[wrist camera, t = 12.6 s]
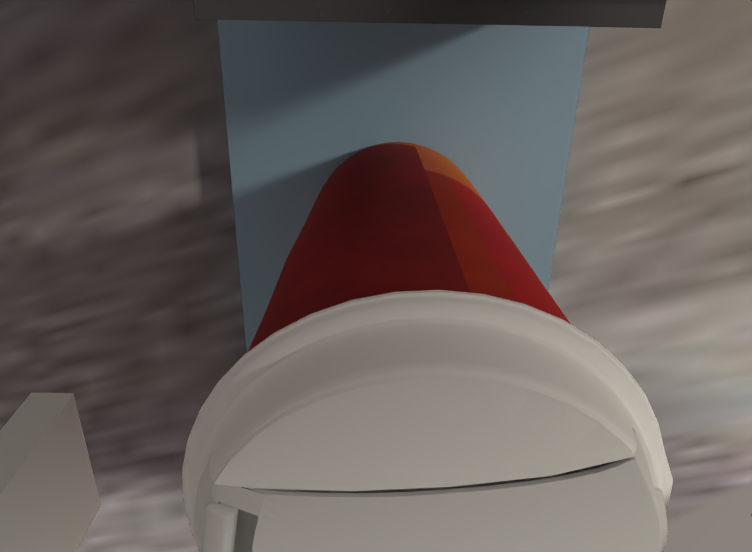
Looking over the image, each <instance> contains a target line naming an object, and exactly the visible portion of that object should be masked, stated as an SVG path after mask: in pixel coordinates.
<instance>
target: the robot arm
mask: <svg viewBox="0 0 752 552" xmlns="http://www.w3.org/2000/svg"><path fill="white" fill-rule="evenodd" d="M100 505H101V503H100V499H99V495H98V491H97V487H96V483H95V479H94V475H93V471H92V466H91V462H90V458H89V454H88V450H87V446H86V442H85V438H84V434H83V430H82V426H81V422H80V418H79V414H78V409H77V405H76V401H75V397H74V393H30V395H29V396H28V397H27V398H26V400H25V401H24V402H23V403H22V404H21V406H20V407H19V408H18V409H17V411H16V412H15V413H14V414H13V415H12V417H11V418H10V419H9V420H8V422H7V423H6V424H5V425H4V426H3V428H2V429H1V430H0V552H76V551H77V549H78V547H79V545H80V543H81V541H82V540H83V538H84V536H85V534H86V532H87V530H88V528H89V526H90V524H91V522H92V520H93V518H94V516H95V515H96V513H97V511H98V509H99V507H100ZM751 516H752V514H751Z"/></svg>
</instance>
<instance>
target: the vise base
mask: <svg viewBox="0 0 752 552" xmlns="http://www.w3.org/2000/svg"><path fill="white" fill-rule="evenodd" d="M217 22H218V34H219V45H220V56H221V68H222V79H223V91H224V102H225V113H226V125H227V136H228V148H229V159H230V170H231V182H232V193H233V205H234V216H235V227H236V239H237V250H238V262H239V273H240V284H241V296H242V307H243V319H244V330H245V341H246V353H247V352H248V350H249V348H250V345H251V343H252V341H253V339H254V336H255V334H256V332H257V330H258V327H259V325H260V323H261V321H262V318H263V316H264V314H265V312H266V309H267V307H268V304H269V302H270V299H271V297H272V294H273V292H274V289H275V287H276V284H277V282H278V279H279V277H280V274H281V272H282V269H283V267H284V264H285V262H286V259H287V257H288V255H289V253H290V251H291V249H292V247H293V245H294V244H295V242H296V240H297V238H298V236H299V234H300V232H301V230H302V228H303V226H304V224H305V222H306V220H307V218H308V216H309V214H310V211H311V209H312V207H313V205H314V203H315V201H316V199H317V197H318V195H319V193H320V191H321V189H322V188H323V186H324V184H325V183H326V181H327V180H328V178H329V177H330V175H331V174H332V173H333V172H334V170H335V169H336V168H337V167H338V166H339V165H340V164H341V163H343V162H344V161H345V160H346V159H348V158H349V157H350V156H352V155H354V154H355V153H357V152H359V151H361V150H363V149H365V148H368V147H371V146H374V145H377V144H382V143H389V142H407V143H414V144H418V145H422V146H425V147H427V148H430V149H432V150H434V151H436V152H438V153H440V154H442V155H443V156H445V157H446V158H448V159H449V160H450V161H451V162H453V163H454V164H455V165H456V166H457V167H458V168H459V169H460V170H461V171H462V172H463V174H464V175H465V176H466V177H467V178H468V180H469V181H470V182H471V183H472V185H473V186H474V187H475V189H476V190H477V191H478V193H479V194H480V196H481V197H482V198H483V200H484V201H485V202H486V204H487V205H488V207H489V208H490V209H491V211H492V212H493V214H494V215H495V216H496V218H497V219H498V221H499V222H500V224H501V225H502V226H503V228H504V229H505V231H506V232H507V234H508V235H509V236H510V238H511V239H512V241H513V242H514V243H515V245H516V246H517V248H518V249H519V251H520V252H521V254H522V255H523V256H524V258H525V259H526V261H527V262H528V264H529V265H530V266H531V268H532V269H533V271H534V272H535V274H536V275H537V277H538V278H539V279H540V281H541V282H542V284H543V285H544V287H545V288H546V290H547V291H548V288H549V281H550V275H551V269H552V262H553V256H554V249H555V243H556V237H557V230H558V224H559V217H560V211H561V205H562V198H563V192H564V186H565V179H566V173H567V166H568V160H569V154H570V147H571V141H572V134H573V128H574V122H575V115H576V109H577V103H578V96H579V90H580V83H581V77H582V71H583V64H584V58H585V51H586V45H587V39H588V32H589V27H578V26H524V25H471V24H417V23H363V22H309V21H255V20H217Z"/></svg>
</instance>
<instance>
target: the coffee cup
mask: <svg viewBox="0 0 752 552" xmlns="http://www.w3.org/2000/svg"><path fill="white" fill-rule="evenodd" d="M182 484H183V501H184V505H185V509H186V512H187V516H188V520H189V524H190V527H191V531H192V535H193V537H194V539H195V541H196V543H197V546H198V550H199V552H664V549H665V546H666V541H667V518H666V510H667V507H668V503H669V498H670V493H671V488H672V484H673V479H672V475H671V472H670V468H669V465H668V461H667V458H666V454H665V450H664V446H663V442H662V437H661V433H660V428H659V424H658V421H657V419H656V416H655V414H654V412H653V410H652V408H651V406H650V404H649V402H648V399H647V397H646V395H645V393H644V392H643V390H642V389H641V387H640V386H639V385H638V383H637V382H636V381H635V380H634V378H633V377H632V376H631V374H630V373H629V372H628V370H627V369H626V368H625V366H624V365H623V364H622V363H621V362H620V361H619V360H618V359H617V358H616V357H614V356H613V355H612V354H611V353H610V352H609V351H608V350H607V349H606V348H604V347H603V346H602V345H601V344H600V343H599V342H598V341H597V340H595V339H594V338H592V337H590V336H589V335H587V334H586V333H584V332H582V331H581V330H579V329H578V328H576V327H574V326H573V325H571V324H570V323H569V321H568V320H567V318H566V317H565V315H564V314H563V313H562V311H561V310H560V308H559V307H558V305H557V304H556V302H555V301H554V300H553V298H552V297H551V295H550V294H549V292H548V291H547V290H546V288H545V287H544V285H543V284H542V282H541V281H540V279H539V278H538V277H537V275H536V274H535V272H534V271H533V269H532V268H531V266H530V265H529V264H528V262H527V261H526V259H525V258H524V256H523V255H522V254H521V252H520V251H519V249H518V248H517V246H516V245H515V243H514V242H513V241H512V239H511V238H510V236H509V235H508V234H507V232H506V231H505V229H504V228H503V226H502V225H501V224H500V222H499V221H498V219H497V218H496V216H495V215H494V214H493V212H492V211H491V209H490V208H489V207H488V205H487V204H486V202H485V201H484V200H483V198H482V197H481V196H480V194H479V193H478V191H477V190H476V189H475V187H474V186H473V185H472V183H471V182H470V181H469V180H468V178H467V177H466V176H465V175H464V174H463V172H462V171H461V170H460V169H459V168H458V167H457V166H456V165H455V164H454V163H453V162H451V161H450V160H449V159H448V158H446V157H445V156H443V155H442V154H440V153H438V152H436V151H434V150H432V149H430V148H427V147H425V146H422V145H418V144H414V143H407V142H389V143H382V144H377V145H374V146H371V147H368V148H365V149H363V150H361V151H359V152H357V153H355V154H354V155H352V156H350V157H349V158H348V159H346V160H345V161H344V162H343V163H341V164H340V165H339V166H338V167H337V168H336V169H335V170H334V172H333V173H332V174H331V175H330V177H329V178H328V180H327V181H326V183H325V184H324V186H323V188H322V189H321V191H320V193H319V195H318V197H317V199H316V201H315V203H314V205H313V207H312V209H311V211H310V214H309V216H308V218H307V220H306V222H305V224H304V226H303V228H302V230H301V232H300V234H299V236H298V238H297V240H296V242H295V244H294V245H293V247H292V249H291V251H290V253H289V255H288V257H287V259H286V262H285V264H284V267H283V269H282V272H281V274H280V277H279V279H278V282H277V284H276V287H275V289H274V292H273V294H272V297H271V299H270V302H269V304H268V307H267V309H266V312H265V314H264V316H263V318H262V321H261V323H260V325H259V327H258V330H257V332H256V334H255V336H254V339H253V341H252V343H251V345H250V348H249V350H248V352H247V353H246V354H245V355H243V356H242V357H241V358H240V359H239V360H238V361H237V363H236V364H235V365H234V366H233V367H232V368H231V369H230V370H229V371H228V372H227V373H226V374H225V375H224V376H223V377H222V378H221V379H220V380H219V381H218V383H217V384H216V386H215V387H214V389H213V390H212V392H211V393H210V395H209V396H208V398H207V399H206V401H205V402H204V404H203V406H202V407H201V409H200V410H199V413H198V415H197V418H196V420H195V423H194V425H193V428H192V430H191V433H190V435H189V438H188V440H187V445H186V450H185V456H184V462H183V468H182Z"/></svg>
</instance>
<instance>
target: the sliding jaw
mask: <svg viewBox="0 0 752 552" xmlns="http://www.w3.org/2000/svg"><path fill="white" fill-rule="evenodd" d="M665 4H666V0H193V5H194V14H195V19H201V20H255V21H309V22H363V23H417V24H471V25H524V26H578V27H632V28H661V24H662V19H663V14H664V9H665Z"/></svg>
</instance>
